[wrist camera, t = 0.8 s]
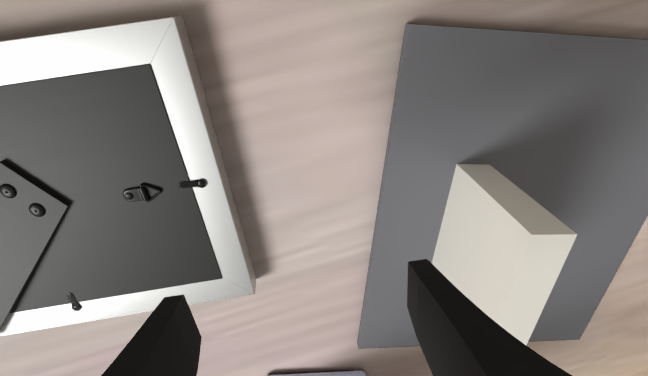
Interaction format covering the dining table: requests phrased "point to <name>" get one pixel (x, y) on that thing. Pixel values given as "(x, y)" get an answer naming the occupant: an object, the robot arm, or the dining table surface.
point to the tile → (500, 247)
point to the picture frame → (111, 179)
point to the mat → (512, 157)
